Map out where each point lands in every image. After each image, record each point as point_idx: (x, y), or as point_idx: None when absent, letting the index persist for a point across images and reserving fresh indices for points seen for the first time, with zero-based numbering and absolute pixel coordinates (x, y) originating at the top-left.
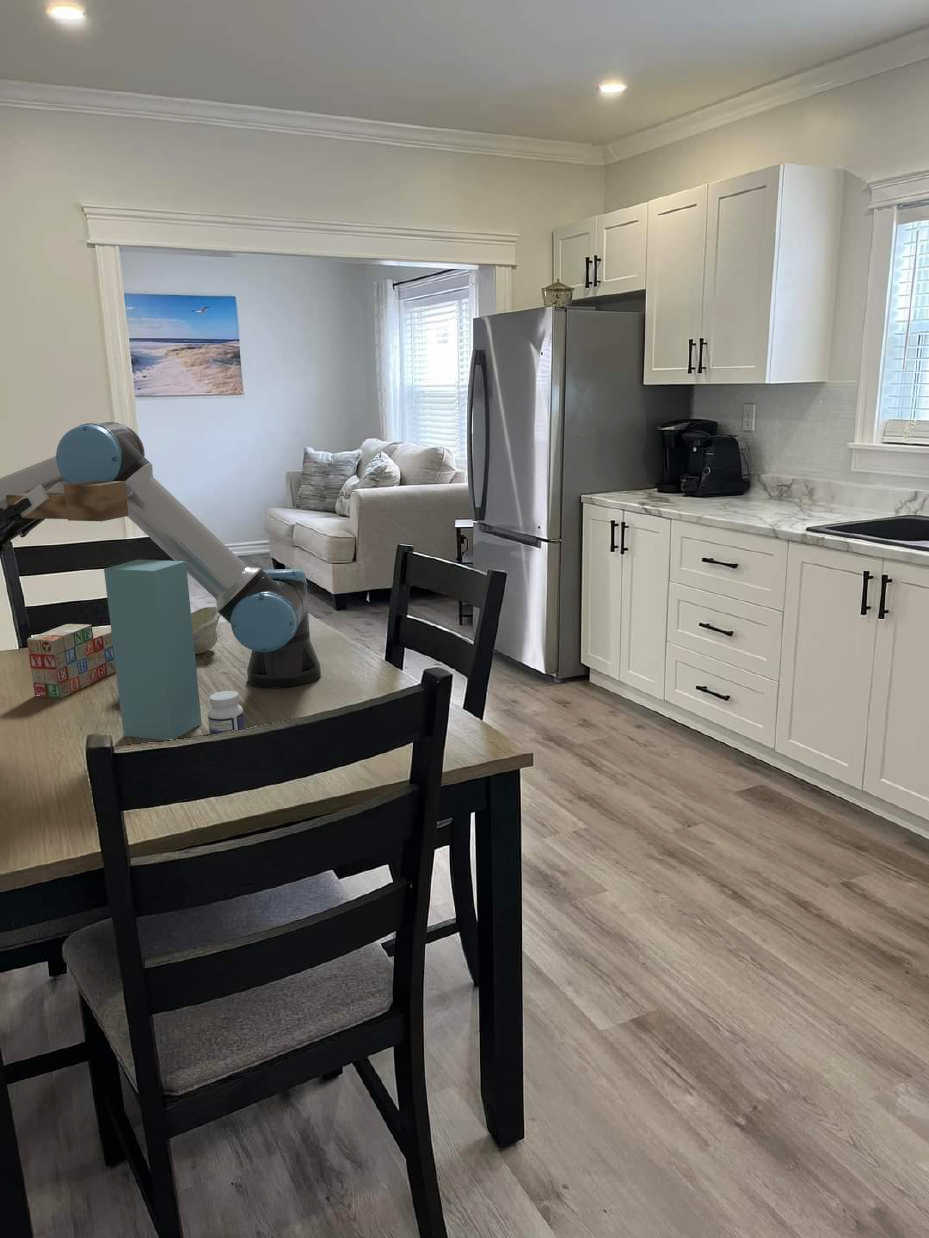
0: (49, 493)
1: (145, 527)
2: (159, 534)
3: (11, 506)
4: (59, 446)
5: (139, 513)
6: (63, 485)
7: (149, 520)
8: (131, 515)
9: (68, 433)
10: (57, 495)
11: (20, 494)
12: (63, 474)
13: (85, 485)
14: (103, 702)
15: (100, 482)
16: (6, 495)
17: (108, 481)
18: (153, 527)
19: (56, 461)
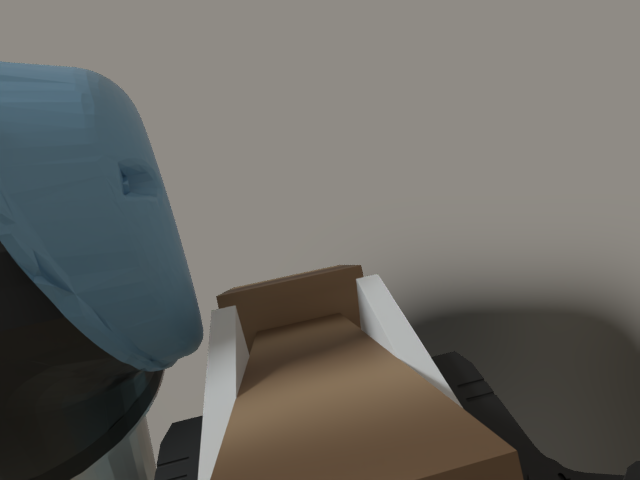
0: (271, 368)
1: (140, 473)
2: (151, 474)
3: (534, 463)
4: (136, 124)
5: (144, 425)
6: (360, 266)
7: (148, 438)
8: (128, 450)
9: (114, 83)
10: (341, 324)
11: (385, 405)
12: (187, 274)
13: (344, 265)
14: None
15: (266, 282)
16: (509, 450)
17: (234, 289)
18: (149, 458)
19: (141, 201)
